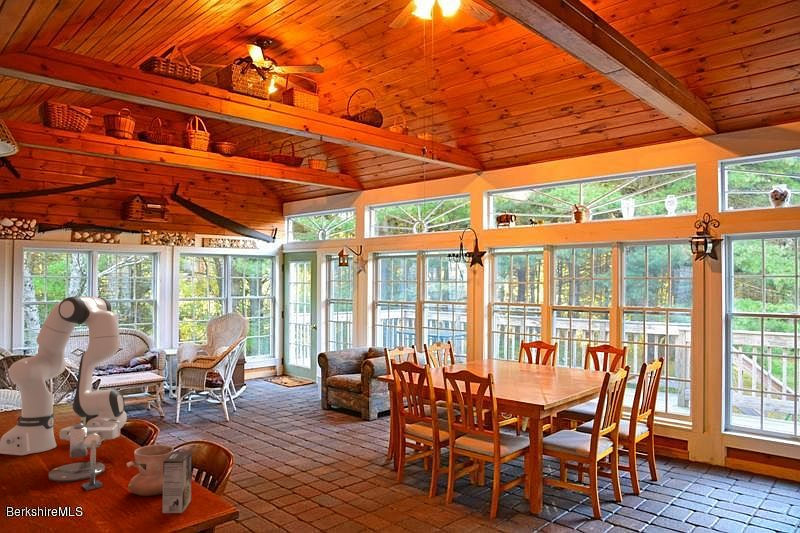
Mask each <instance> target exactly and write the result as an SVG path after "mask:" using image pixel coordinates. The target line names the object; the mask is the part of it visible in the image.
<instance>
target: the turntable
mask: <svg viewBox="0 0 800 533" xmlns="http://www.w3.org/2000/svg"><path fill="white" fill-rule="evenodd" d="M105 470H106V465H105V464H104V463H102V462H97V461H96V465H95V477H97V476H99V475H101V474H103V473H104V472H105ZM48 479H49V480H50V481H52V482H57V483H59V482H60V483H67V482H68V483H69V482H70V483H71V482H78V481H85V480H88V479H89V480H90V461H81V462H74V463H69V464H64V465H61V466H57V467H56V468H53V469H51V470H50V471H49V472H48Z"/></svg>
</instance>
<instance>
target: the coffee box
mask: <svg viewBox="0 0 800 533" xmlns="http://www.w3.org/2000/svg"><path fill="white" fill-rule="evenodd" d="M190 502H192V451H189V452H187V451H173V452H172V453H171V454H170V455H169V456H168V457H167V458H166V459H165V460H164V461H163V493H162V510H161V511H162V514H182V513H184V512H185V510H186V509H187V507H188V505H190Z"/></svg>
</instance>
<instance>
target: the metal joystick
mask: <svg viewBox="0 0 800 533" xmlns="http://www.w3.org/2000/svg"><path fill="white" fill-rule="evenodd" d="M84 444H85V446H86V447H87V449H89V450H90V452H89V454H90V457H89V462H90V478H89V481H87V482H83V483H82V484H81V487H82V488H83V489H85V491H91V490H95V489H99V488H103V483H102V482H101V481H100V480H99V479H98V480H97V479H96V476H95V465H96V462H97V460H96V458H97V457H96V456H97V454H96V453H97V449H98V448H99V447H100V446H101V444H102V439H101V437H100V436H99V435H98V434H96V433H92V434H89V435H88V436H87V437H86V438H85V440H84Z"/></svg>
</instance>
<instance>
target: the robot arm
mask: <svg viewBox="0 0 800 533" xmlns="http://www.w3.org/2000/svg"><path fill="white" fill-rule="evenodd" d="M111 305H112V304H111V302H109V301H108V300H107V299H105V298H103V297H100V296H92V295H86V296H83V295H82V296H81V295H80V296H74V295H73V296H69V297H66V298H64V299H63V300H61V301H60V302H58V303H56V304H55V305H54V306H53V308H52V309H51V310H50V312H49V313H48V314H47V317H46V319H44V322H43V324H42V326H41V328H40V330H39V333H38V335H37V337H36V344H37V345H38V350H37V353H36V354H35V355H33V356H28V357H24V358H20V359H19V360H16V361H15V362H13V363H11V365H10V367H9V369H8V377H9V379H10V381H11V382H12V383H14V384H15V385H16V386H17V388H18V391H19V393H20V398H21V416H18V417H16V418H15V419H14V422H17V423H16V425H14V427H12V428H11V429H9V430H8V431H7V432H6V433H4V434H3V435H2V436H1V438H0V454H3V455H11V456H13V455H14V456H26V455H29V454H37V453H42V452H46V451H49V450H52V449H54V448H56V447H57V443H56V439H55V434H54V424H55V423H54V422H55V413H54V411H53V410H54V408H53V407H54V394H53V393H52V392H51V391H49V389H48V388H47V385H46V381H47V380H51V379H54V378H57V377H58V376H59V375H61V374H63V373H64V372H65V370H66V367H67V361H66V359H65V357H64V354H65V349H66V347H67V344H68V341H69V339H70V338H71V335H72V333H73V331H74V329H75V326H76V325H83V324H84V325H86V326H87V328H88V346H87V348H86V350H85V352H83V353H82V354H81V357H80V362H79V364H78V365H79V366H78V367H79V368H78V373H77V374H78V375H77V382H76V388H75V394H74V397H73V401H72V411H74V413H75V415H77V416H78V417H80V418H81V417H88V416H92V415H98V416H97V417H95V418H93V419H91V420H89V421H88V422H87V424H86V425H84V426H87V435H86V436H85V438H86V437H87V436H88V435H89V434H92V433H96V434H98V435H99V436H100V437H101V439H105V440H114V439H116V438H119V437H120V435H121V429H122V428H123V427H124V426H125V425H126V422H127V420H128V415H127V412H126V411H125V398H124V396H123V394H122V393H121V392H120V391H119V389H116V388H109V389H101V390H92V383H93V382H92V380H93V374H94V370H95V368H96V367H97V366H98V365H100V364H101V363H104V362H105V361H106V360H109V359H111V358H112V357H114V356H115V355H116V354H117V353H118V351H119V348H120V341H121V340H120V330H119V324H118V323H119V322H118V319H117V315H116V314H115V313H114V312H112V306H111ZM73 427H74V425H69V426H66V427H63V428H61V429H60V430H59V439H60V440H65V441H67V442H68V441H69V442H70V429H71V428H73Z"/></svg>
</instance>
